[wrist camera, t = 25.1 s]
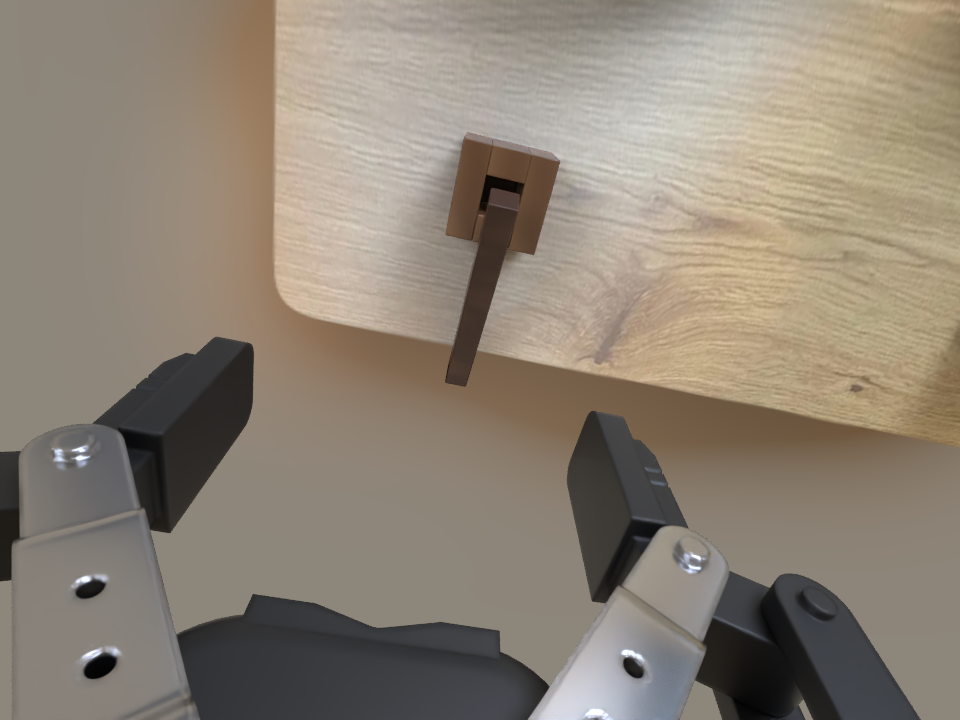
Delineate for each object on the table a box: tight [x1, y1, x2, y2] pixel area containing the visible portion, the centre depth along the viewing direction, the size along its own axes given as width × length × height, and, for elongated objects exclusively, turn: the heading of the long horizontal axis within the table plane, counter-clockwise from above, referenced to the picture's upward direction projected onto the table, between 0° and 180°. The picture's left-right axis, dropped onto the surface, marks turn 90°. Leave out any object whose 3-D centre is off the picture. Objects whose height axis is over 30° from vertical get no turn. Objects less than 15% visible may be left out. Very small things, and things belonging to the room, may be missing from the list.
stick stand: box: [446, 132, 560, 255], centre depth 31 cm, size 5×5×4 cm
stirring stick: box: [445, 188, 520, 386], centre depth 33 cm, size 2×2×16 cm
